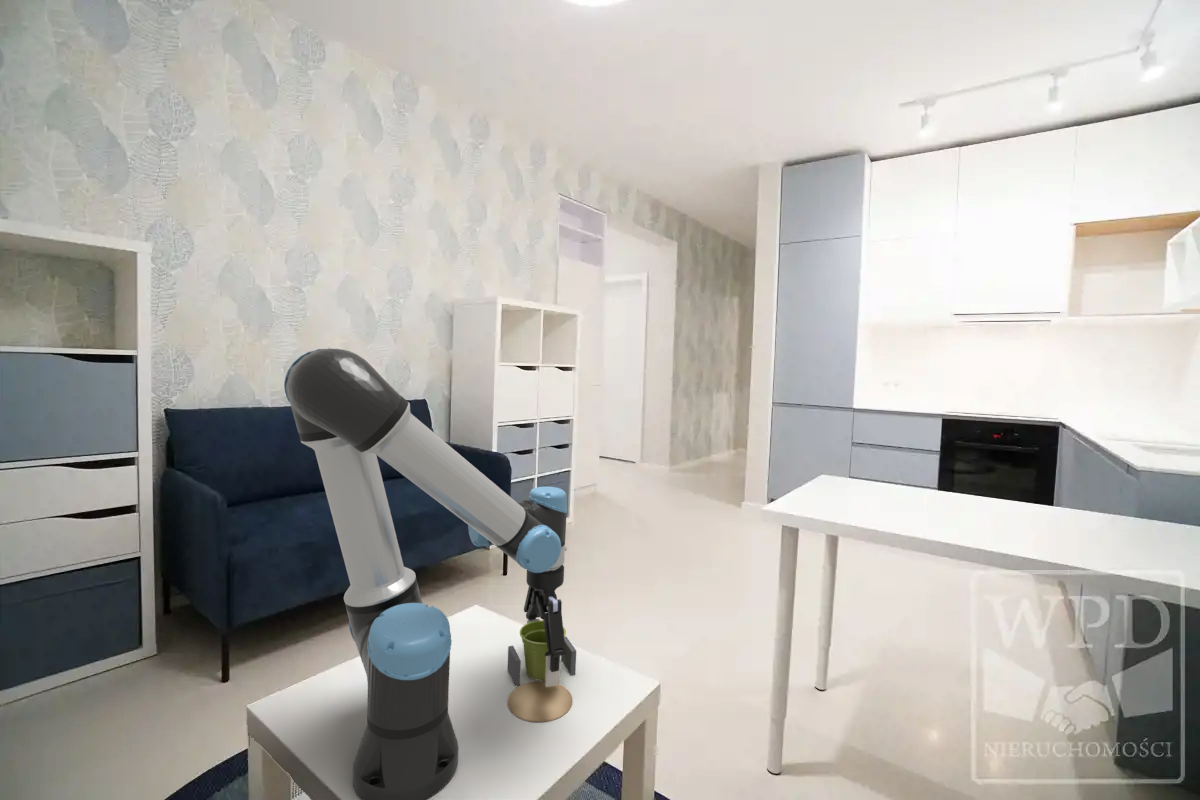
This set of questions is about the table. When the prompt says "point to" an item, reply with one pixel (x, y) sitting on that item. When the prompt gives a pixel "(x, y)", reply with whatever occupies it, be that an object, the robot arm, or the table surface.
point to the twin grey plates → (515, 661)
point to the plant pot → (535, 648)
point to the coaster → (539, 701)
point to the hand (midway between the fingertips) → (541, 666)
